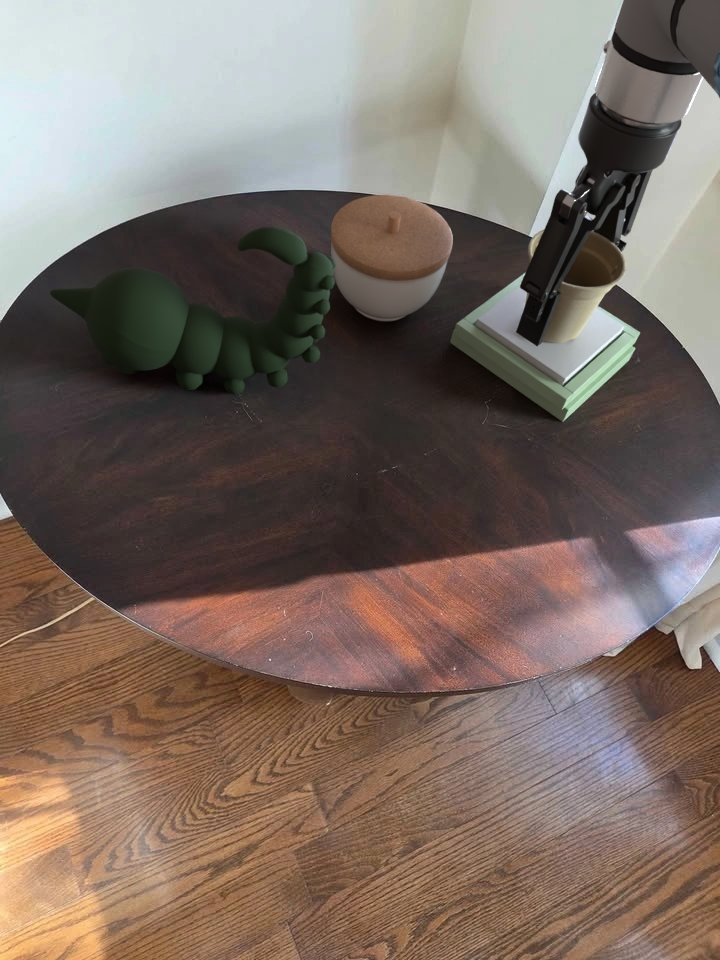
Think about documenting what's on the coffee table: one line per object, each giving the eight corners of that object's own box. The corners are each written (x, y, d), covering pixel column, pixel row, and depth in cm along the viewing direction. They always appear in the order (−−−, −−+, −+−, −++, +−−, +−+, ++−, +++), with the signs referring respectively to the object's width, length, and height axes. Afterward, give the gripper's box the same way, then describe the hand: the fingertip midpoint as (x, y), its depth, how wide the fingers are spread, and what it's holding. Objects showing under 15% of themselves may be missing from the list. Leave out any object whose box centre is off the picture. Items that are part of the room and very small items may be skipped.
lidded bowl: (312, 323, 84) (317, 238, 75) (341, 252, 91) (349, 167, 82) (426, 350, 83) (445, 268, 74) (446, 276, 90) (466, 193, 81)
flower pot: (498, 292, 83) (518, 224, 76) (581, 292, 84) (609, 224, 77) (518, 356, 78) (542, 289, 71) (607, 354, 79) (639, 288, 72)
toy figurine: (314, 357, 83) (72, 323, 80) (343, 206, 68) (46, 156, 64) (309, 425, 78) (49, 391, 74) (340, 277, 63) (15, 227, 59)
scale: (631, 357, 85) (644, 334, 83) (559, 425, 79) (570, 402, 76) (523, 287, 90) (531, 263, 88) (446, 345, 84) (452, 321, 81)
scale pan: (619, 337, 83) (624, 326, 82) (560, 389, 78) (565, 378, 77) (535, 283, 87) (539, 272, 86) (473, 329, 82) (477, 318, 80)
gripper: (663, 46, 68) (580, 256, 87) (523, 129, 58) (462, 346, 77) (739, 82, 66) (637, 290, 84) (606, 175, 56) (523, 388, 74)
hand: (554, 316), depth 80 cm, fingers closed on flower pot, 8 cm apart
